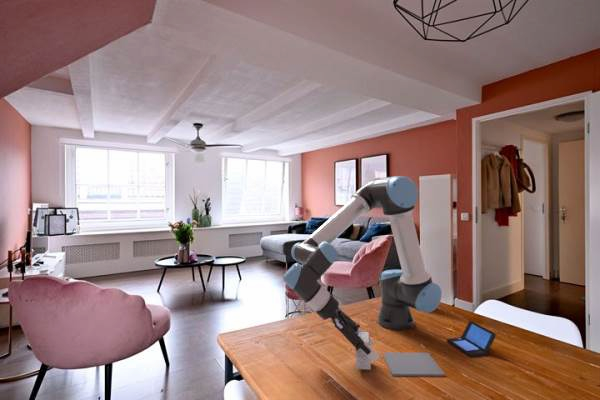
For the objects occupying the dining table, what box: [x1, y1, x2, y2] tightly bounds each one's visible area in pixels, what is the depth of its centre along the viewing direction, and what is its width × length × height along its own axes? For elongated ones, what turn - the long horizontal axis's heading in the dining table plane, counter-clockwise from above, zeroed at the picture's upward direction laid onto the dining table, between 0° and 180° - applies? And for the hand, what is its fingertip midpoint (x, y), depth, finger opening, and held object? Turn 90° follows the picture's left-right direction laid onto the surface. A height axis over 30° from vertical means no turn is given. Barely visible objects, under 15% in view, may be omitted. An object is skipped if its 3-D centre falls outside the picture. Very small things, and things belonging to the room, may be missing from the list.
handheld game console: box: [446, 320, 497, 358], centre depth 111 cm, size 12×11×7 cm
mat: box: [382, 352, 446, 377], centre depth 100 cm, size 13×16×1 cm
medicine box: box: [355, 331, 372, 371], centre depth 99 cm, size 8×4×9 cm, turn 169°
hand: (373, 351), depth 99 cm, fingers closed on medicine box, 8 cm apart
